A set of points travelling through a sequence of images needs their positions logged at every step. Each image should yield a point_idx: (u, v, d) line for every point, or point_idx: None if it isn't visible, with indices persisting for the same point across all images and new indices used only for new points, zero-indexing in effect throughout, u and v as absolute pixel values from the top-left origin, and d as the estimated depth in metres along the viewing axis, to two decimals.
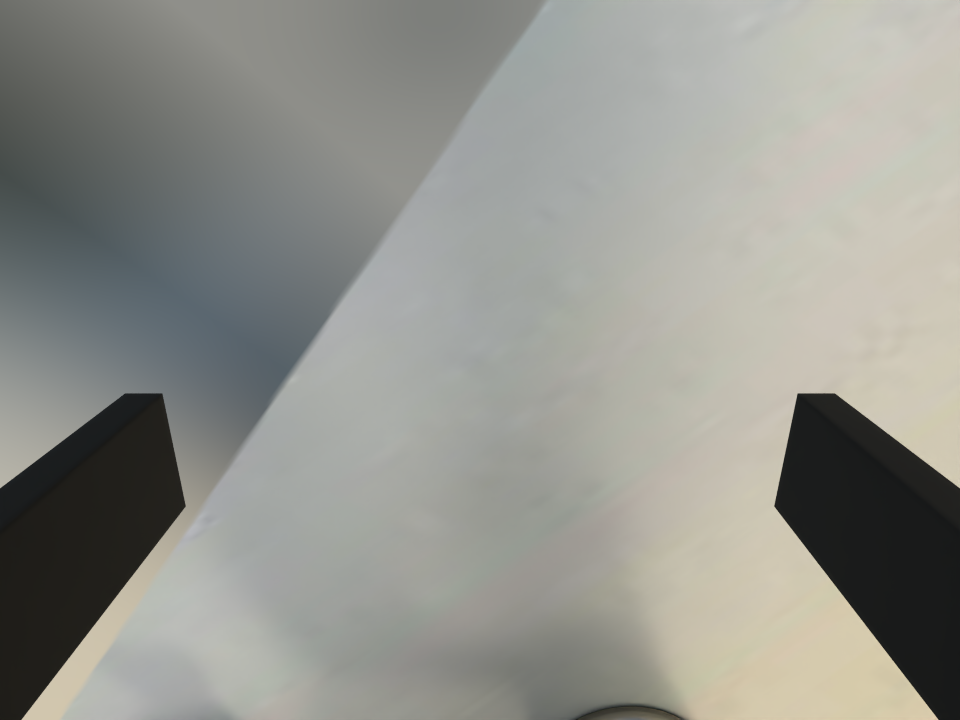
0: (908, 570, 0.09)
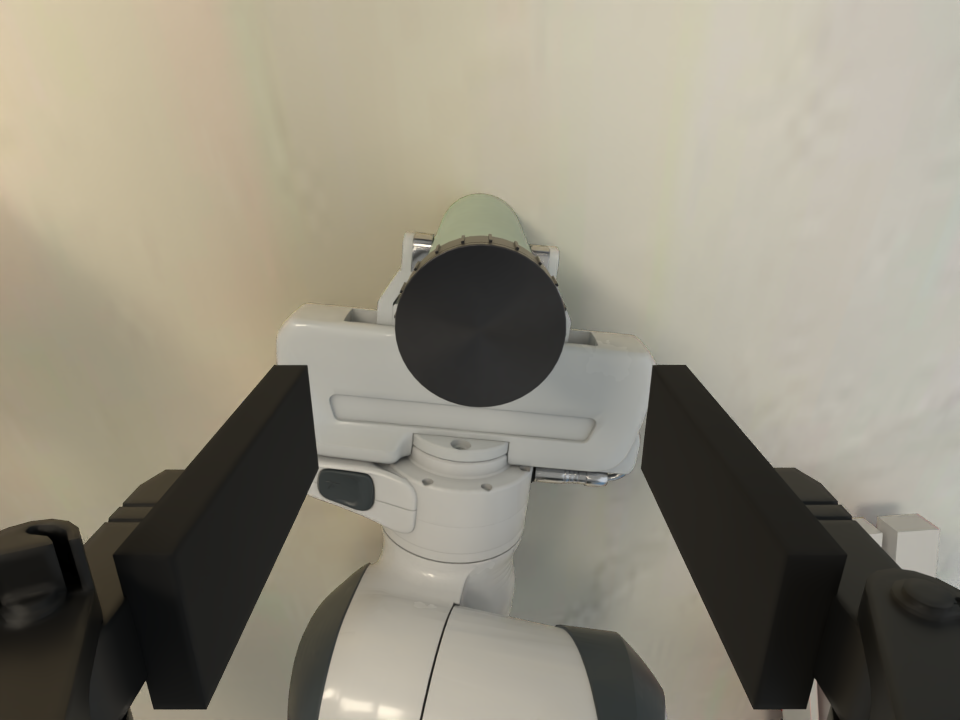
0: (704, 508, 0.11)
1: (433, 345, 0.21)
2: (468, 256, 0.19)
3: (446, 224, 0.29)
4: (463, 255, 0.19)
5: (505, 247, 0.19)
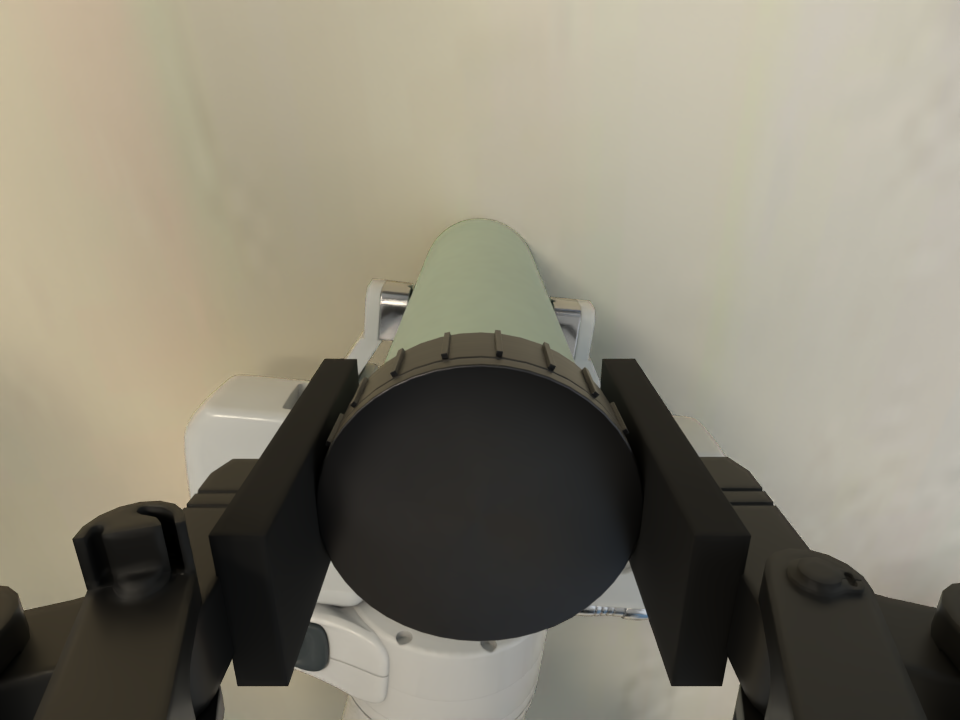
0: None
1: (390, 542, 0.11)
2: (455, 387, 0.10)
3: (429, 274, 0.20)
4: (445, 385, 0.10)
5: (529, 369, 0.10)
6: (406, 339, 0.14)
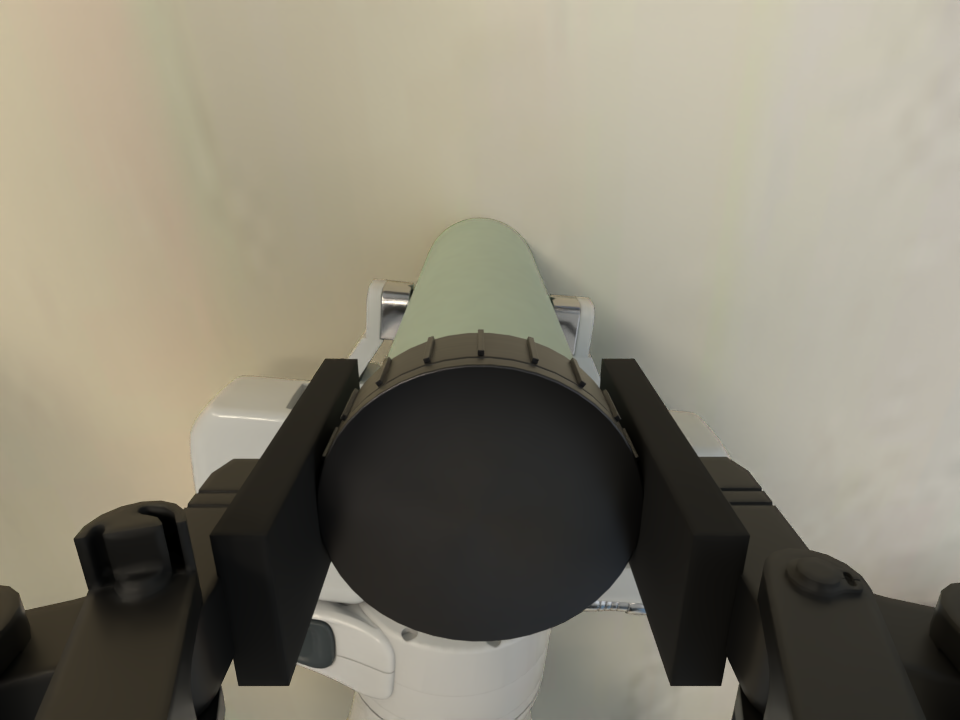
0: None
1: (561, 555, 0.11)
2: (395, 605, 0.11)
3: (429, 273, 0.20)
4: (400, 611, 0.11)
5: (340, 571, 0.11)
6: (406, 337, 0.14)
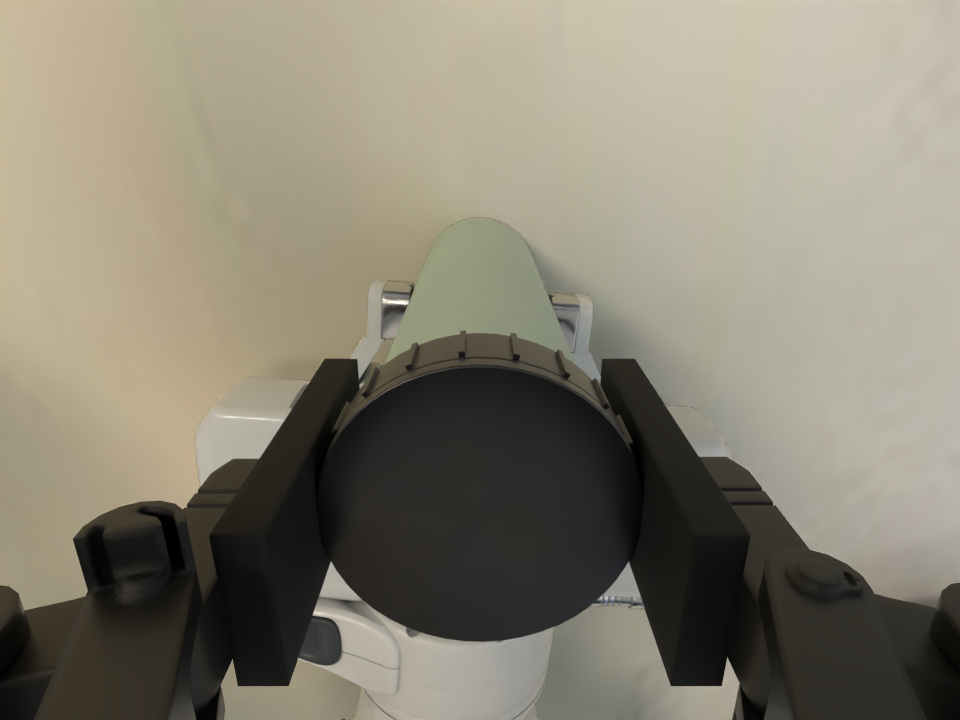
0: None
1: (456, 434, 0.10)
2: (623, 510, 0.11)
3: (428, 272, 0.20)
4: (626, 503, 0.11)
5: (624, 562, 0.11)
6: (406, 335, 0.14)
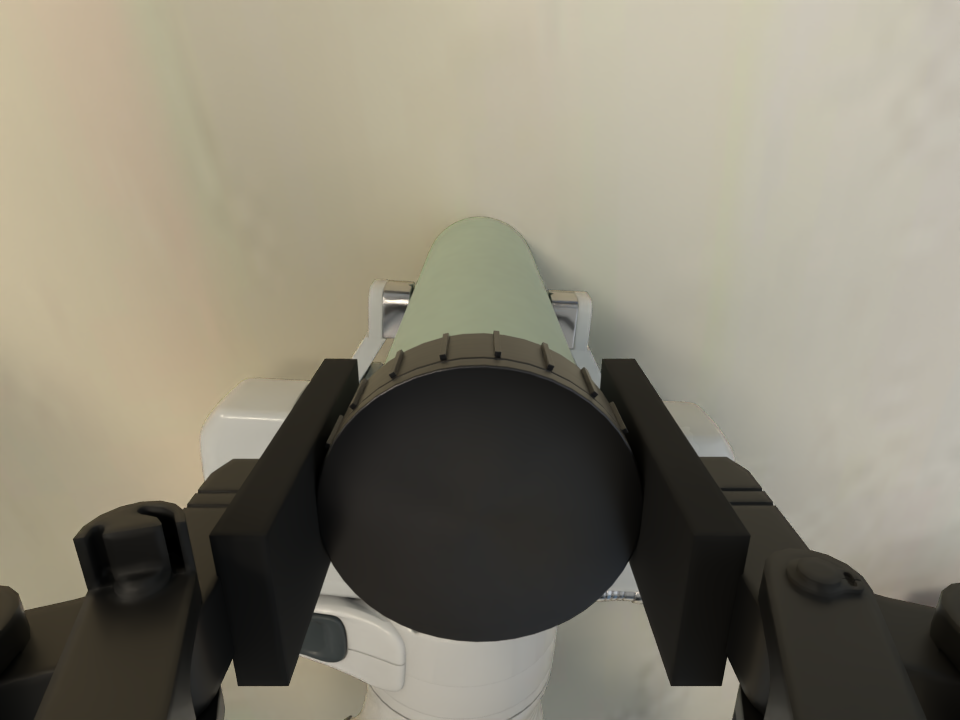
0: None
1: (427, 581, 0.11)
2: (371, 428, 0.10)
3: (428, 272, 0.20)
4: (362, 431, 0.10)
5: (417, 374, 0.10)
6: (406, 333, 0.14)
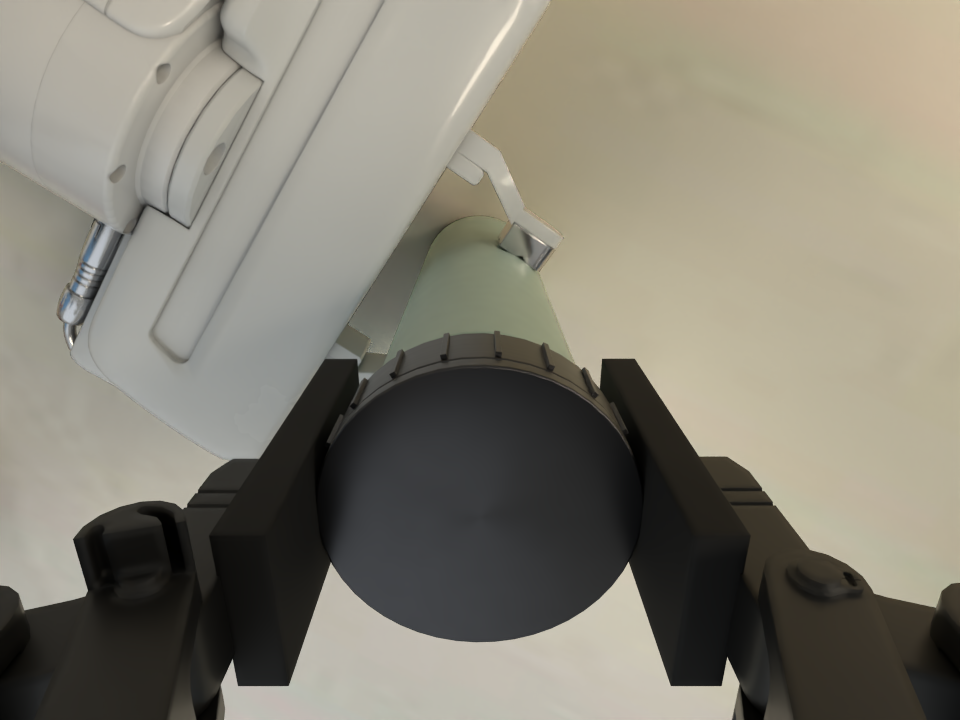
0: None
1: (427, 580, 0.11)
2: (371, 427, 0.10)
3: None
4: (363, 431, 0.10)
5: (418, 374, 0.10)
6: None
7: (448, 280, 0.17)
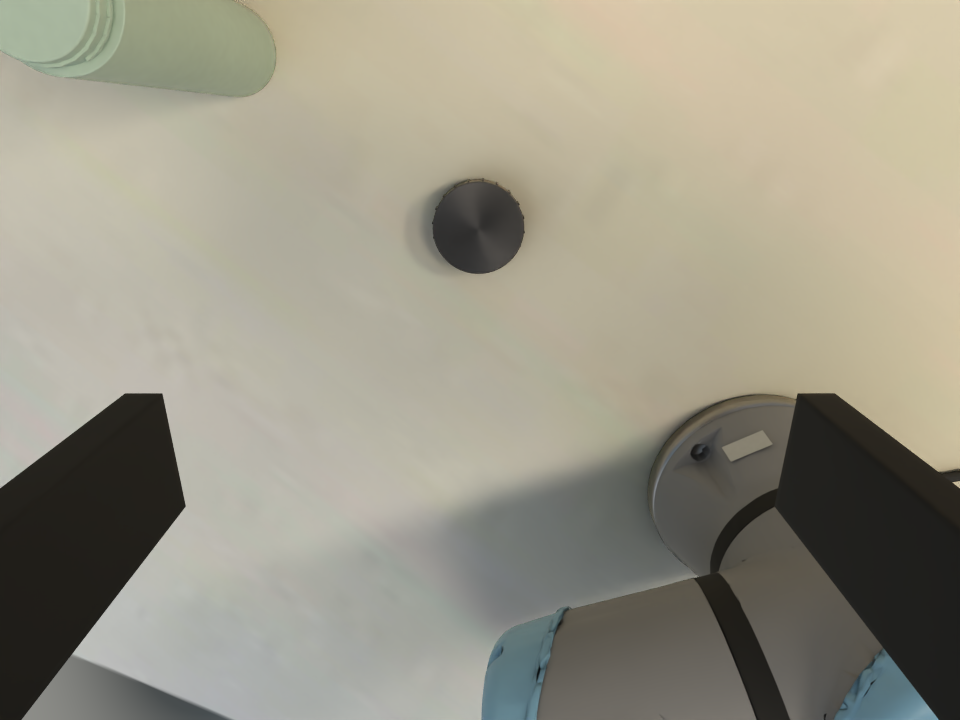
0: (908, 570, 0.09)
1: (463, 250, 0.39)
2: (449, 200, 0.38)
3: (221, 31, 0.29)
4: (447, 201, 0.38)
5: (462, 184, 0.37)
6: (154, 5, 0.23)
7: None
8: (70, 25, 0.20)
